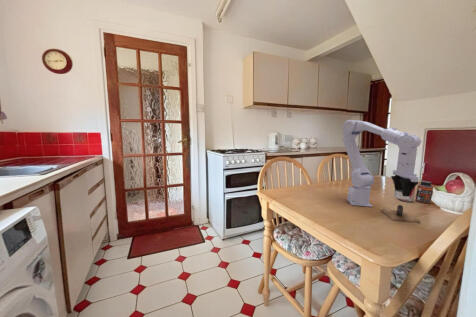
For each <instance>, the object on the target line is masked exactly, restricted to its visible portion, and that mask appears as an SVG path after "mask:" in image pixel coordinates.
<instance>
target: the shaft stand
mask: <svg viewBox="0 0 476 317" xmlns="http://www.w3.org/2000/svg"><path fill="white" fill-rule="evenodd" d="M380 211H381V212H382V213H383V214H384V215H385V216H387V217H388V218H389V219H390V220H391V221H397V222H407V223H418V224H421V221H420V220H419V219H417V218H416V217H415V216H413V215H412V214H410V213H408V212H407V211H404V206H403V205H402V204H398V205H397V208H396V210H391V209H390V210H389V209H388V210H387V209H380Z"/></svg>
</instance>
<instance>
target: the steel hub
mask: <svg viewBox="0 0 476 317" xmlns="http://www.w3.org/2000/svg"><path fill="white" fill-rule="evenodd" d="M394 198H396V199H399V200H400V199H404V200H409V198H410V196H409V197H407V196H403V195H402V190H400V189H396V190H395V189H394Z"/></svg>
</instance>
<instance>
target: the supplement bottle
mask: <svg viewBox="0 0 476 317" xmlns="http://www.w3.org/2000/svg"><path fill="white" fill-rule="evenodd" d="M433 191H434V187H433V186H432V182H431V181H428V180H421V181H420V184H419V183H418V184H417V188H416V195H415V201H417V202H418V203H422V204H427V205H428V204H431V202H432V198H433Z"/></svg>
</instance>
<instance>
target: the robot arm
mask: <svg viewBox="0 0 476 317" xmlns="http://www.w3.org/2000/svg"><path fill="white" fill-rule="evenodd" d="M341 129H342V130H341V131H342V141H343V144H344V147H345V150H346V153H347V157H348V160H349V162H350V164H351V168H352V171H351V174H350V176H351V184H352V185H353V186H349V187H348V188H347V198H346V201H347V202H348V203H349V204H350V205H351V206H361V207H370V208H372V207H373V205H372V204H371V203H370V198H371V188H372V185H374V182H375V177H374V176H373V175H372V173H371V172H370V170H369V169H368V168H366V167H365V163H364V161H363V158H362V156H361V153H360V150H359V147H358V145H357V142H356V139H357V138H358V136H359V135H361V134H362V132H364V131H367V132H369V133H373V134H375V135H378V136H380V137H381V139H382V140H383V141H386V142H388V143H391V144H393V145H396V146H397V147H398V157H397V163H396V169H395V170H394V169H393V170H392V175H391V176H390V178H391V179H392V182H393V185H394V191H395V190H396V189H400V190H402V195H403V196H407V197H409V196H410V194H411V192H412V190H413V189H414V187H415V188H416V186H418V185H419V176H417V175H418V174H417V173H415V167H416V160H417V154H418V152H417V151H418V147H419V146H420V145H421V142H422V140H421V138H420V137H419V136H417V135H416V134H409V132H407V131H404V132H403V131H400V130H397V128H396V127H388V128H384V127H381V126H378V125H376V124H374V123H371V122H369V121H363V120H355V119H354V120H353V119H348V120H345V122H344V123H343V125H342V127H341Z"/></svg>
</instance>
